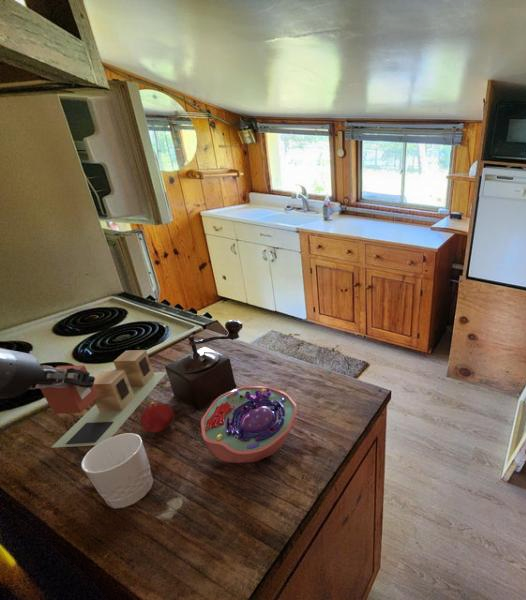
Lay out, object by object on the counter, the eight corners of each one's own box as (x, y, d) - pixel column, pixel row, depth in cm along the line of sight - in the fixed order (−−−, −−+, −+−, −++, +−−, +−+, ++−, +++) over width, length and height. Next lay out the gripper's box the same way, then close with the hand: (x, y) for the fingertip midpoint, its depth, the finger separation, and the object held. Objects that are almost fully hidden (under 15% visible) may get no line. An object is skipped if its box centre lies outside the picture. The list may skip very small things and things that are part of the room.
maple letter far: (123, 387, 82) (113, 361, 79) (135, 375, 86) (125, 350, 83) (144, 386, 83) (135, 360, 79) (155, 374, 87) (146, 349, 84)
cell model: (267, 400, 81) (261, 363, 76) (316, 445, 69) (312, 405, 64) (193, 441, 69) (180, 400, 64) (236, 503, 57) (224, 459, 53)
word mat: (51, 449, 66) (50, 447, 66) (127, 374, 87) (127, 372, 87) (105, 446, 67) (104, 444, 67) (167, 373, 88) (167, 371, 88)
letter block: (54, 414, 64) (36, 381, 60) (73, 397, 68) (57, 366, 64) (82, 412, 64) (65, 380, 61) (99, 396, 68) (85, 365, 65)
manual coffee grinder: (200, 413, 76) (181, 349, 68) (172, 396, 80) (152, 334, 73) (255, 377, 88) (245, 319, 81) (229, 364, 93) (216, 308, 85)
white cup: (98, 521, 54) (75, 481, 50) (106, 483, 60) (86, 444, 56) (156, 497, 58) (139, 459, 53) (158, 464, 64) (143, 426, 59)
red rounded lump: (138, 437, 69) (126, 409, 66) (162, 418, 74) (152, 390, 71) (161, 443, 68) (150, 415, 65) (183, 423, 73) (174, 395, 70)
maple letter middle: (99, 412, 74) (86, 384, 71) (113, 397, 79) (102, 370, 75) (122, 411, 75) (111, 383, 72) (135, 396, 79) (125, 370, 76)
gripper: (45, 346, 52) (119, 363, 68) (-58, 349, 50) (43, 365, 66) (29, 394, 50) (110, 400, 66) (-79, 399, 48) (31, 403, 64)
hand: (76, 382), depth 66 cm, fingers closed on letter block, 5 cm apart
